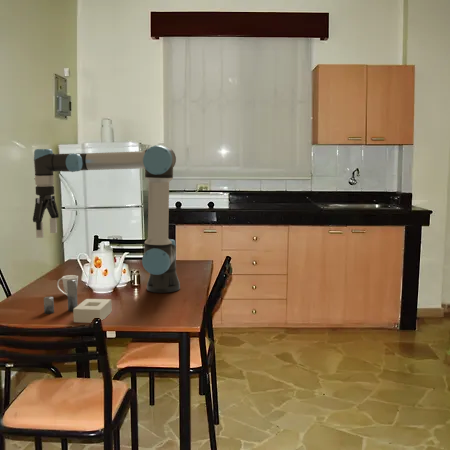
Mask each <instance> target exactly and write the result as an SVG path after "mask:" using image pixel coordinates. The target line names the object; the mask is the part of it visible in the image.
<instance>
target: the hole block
mask: <svg viewBox="0 0 450 450" xmlns="http://www.w3.org/2000/svg"><path fill="white" fill-rule="evenodd" d="M77 305H78V306H77V307H75V308H74V309H73V311H72V313H73V323H84V324H87V323H90V324H91V322H92V320H93V319H94V318H100V319H101V320H103V319H104V320H105V319H106V318H108V316H109V315H110V314H111V313H112V311H113V310H112V309H113V307H112V306H113V305H112V299H111V298H110V299H108V298H104V299H103V298H85V299H84V300H82V302H80V303H79V304H77ZM104 320H103V321H104Z"/></svg>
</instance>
